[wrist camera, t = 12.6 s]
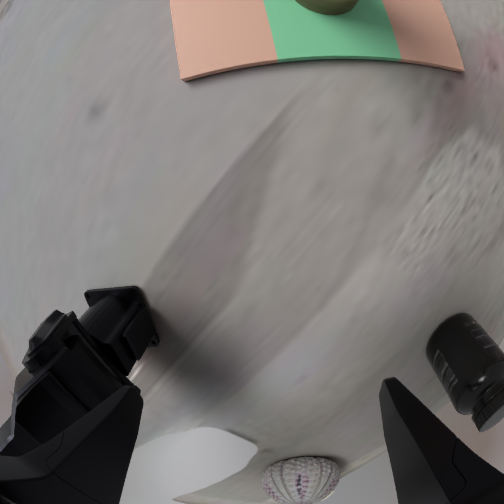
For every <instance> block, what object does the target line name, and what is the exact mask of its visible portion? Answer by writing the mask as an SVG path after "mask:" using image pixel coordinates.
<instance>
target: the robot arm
mask: <svg viewBox="0 0 504 504" xmlns="http://www.w3.org/2000/svg"><path fill="white" fill-rule="evenodd" d="M132 291H134V292H135V293H133V292H132ZM89 295H90V296H89ZM84 296H85V298H86V301H87V303H88V305H89V307H90V308H89V309H88V310H87V311H86V312H85V313H84V314H83V315H82V316H81V318H80V319H79V320H78V319H77V318H76V317H77V316H76V314H75V313H74V312H73V311H71V312H69V313H68V314H64V313H62V312H60V311H58V310H55V311H54V312H52V313H51V314H50V315H49V316H48V317H47V318H46V319H45V320H44V321H43V322H42V323H41V325H40V326H39V327H38V328H37V330H36V331H35V332H34V334H33V335H32V337H31V338H30V339H29V349H28V351H27V353H26V355H25V357H24V359H23V361H22V364H23V365H24V366H25V368H24V369H23V370H22V371H21V372H20V373H19V375H18V376H17V377H16V381H15V387H14V394H13V403H12V413H11V416H10V418H9V419H8V420H7V421H6V422H5V423H4V424H3V425H2V427H1V428H0V504H119V502H120V497H121V494H122V490H123V486H124V482H125V478H126V474H127V471H128V467H129V463H130V460H131V456H132V452H133V449H134V446H135V442H136V439H137V435H138V431H139V425H140V420H141V414H142V409H143V399H142V397H141V396H140V392H141V390H140V389H139V388H138V387H137V386H135V385H134V384H133V383H132V382H131V381H130V380H129V379H128V378H127V377H126V376H128V375H129V373H130V372H131V370H132V368H133V366H134V364H135V362H136V361H137V360H138V361H139V360H140V359H141V357H142V355H143V353H144V352H145V350H146V348H147V346H158V344H159V342H160V340H159V338H158V336H157V333H156V330H155V327H154V325H153V323H152V320H151V318H150V316H149V313H148V311H147V309H146V307H145V304H144V302H143V299H142V297H141V294H140V292H139V289H138V288H137V287H135V286H125V287H115V288H104V289H93V290H87V291H86V292H85V293H84ZM154 341H155V342H154ZM379 400H380V406H381V414H382V421H383V430H384V436H385V441H386V445H387V449H388V453H389V458H390V462H391V467H392V472H393V477H394V482H395V486H396V492H397V498H398V503H399V504H504V474H503V473H501V472H500V471H498V470H497V469H496V468H494V467H493V466H491V465H490V464H489V463H487V462H486V461H485V460H483V459H482V458H481V457H479V456H478V455H477V454H475V453H474V452H473V451H472V450H471V449H470V448H468V447H467V446H466V445H465V444H464V443H463V442H462V441H461V440H460V439H459V438H457V436H456V435H455V434H454V433H453V432H452V431H451V430H450V429H449V428H448V427H446V426H445V425H444V424H443V423H442V422H441V421H440V420H439V419H438V418H437V417H436V416H435V415H434V414H433V413H432V412H431V411H430V410H429V409H428V408H427V407H426V406H425V405H424V404H423V403H422V402H421V401H420V400H419V399H418V398H416V397H415V396H414V395H413V394H412V393H411V392H410V391H409V390H408V389H407V388H406V387H405V386H404V385H403V384H402V383H401V382H400V381H399V380H398V379H397V378H395V377H391V378H387V379H384V380H383V382H382V386H381V390H380V393H379Z"/></svg>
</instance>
